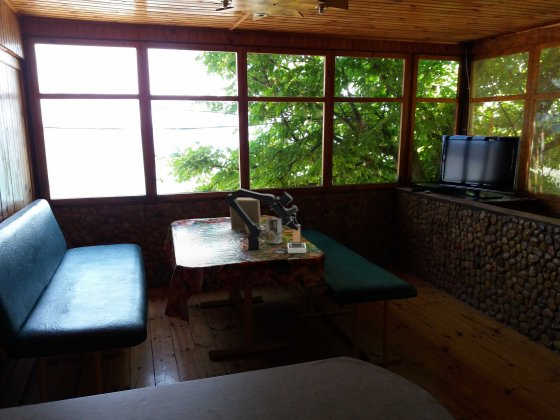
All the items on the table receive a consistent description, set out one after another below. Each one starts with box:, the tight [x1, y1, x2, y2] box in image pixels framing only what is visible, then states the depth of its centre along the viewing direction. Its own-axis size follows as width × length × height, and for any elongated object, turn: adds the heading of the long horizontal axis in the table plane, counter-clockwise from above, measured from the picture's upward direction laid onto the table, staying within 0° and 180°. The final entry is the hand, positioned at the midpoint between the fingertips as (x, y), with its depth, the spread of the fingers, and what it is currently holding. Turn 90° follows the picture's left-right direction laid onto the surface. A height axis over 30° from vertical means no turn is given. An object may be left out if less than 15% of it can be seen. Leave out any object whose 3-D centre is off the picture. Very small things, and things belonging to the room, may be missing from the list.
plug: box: [292, 223, 301, 243], centre depth 258 cm, size 5×5×10 cm
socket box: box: [287, 242, 307, 254], centre depth 260 cm, size 11×12×4 cm
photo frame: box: [229, 197, 262, 234], centre depth 310 cm, size 15×22×25 cm
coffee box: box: [265, 216, 283, 245], centre depth 278 cm, size 9×6×16 cm
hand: (298, 229), depth 258 cm, fingers closed on plug, 5 cm apart
